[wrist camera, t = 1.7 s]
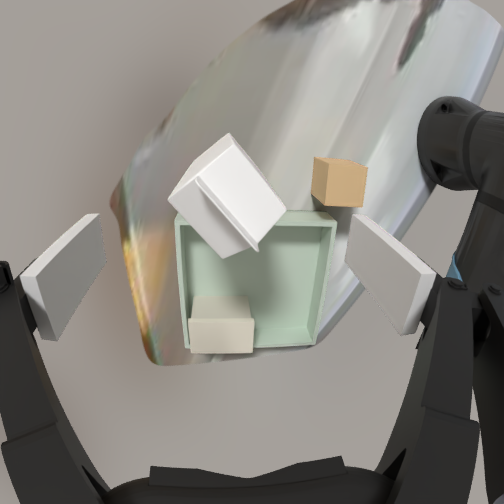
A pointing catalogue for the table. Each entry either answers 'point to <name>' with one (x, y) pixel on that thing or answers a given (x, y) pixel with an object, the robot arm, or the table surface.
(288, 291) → the tray
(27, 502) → the robot arm
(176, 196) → the milk
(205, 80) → the table surface
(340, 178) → the box
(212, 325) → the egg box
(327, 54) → the table surface
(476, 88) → the table surface
